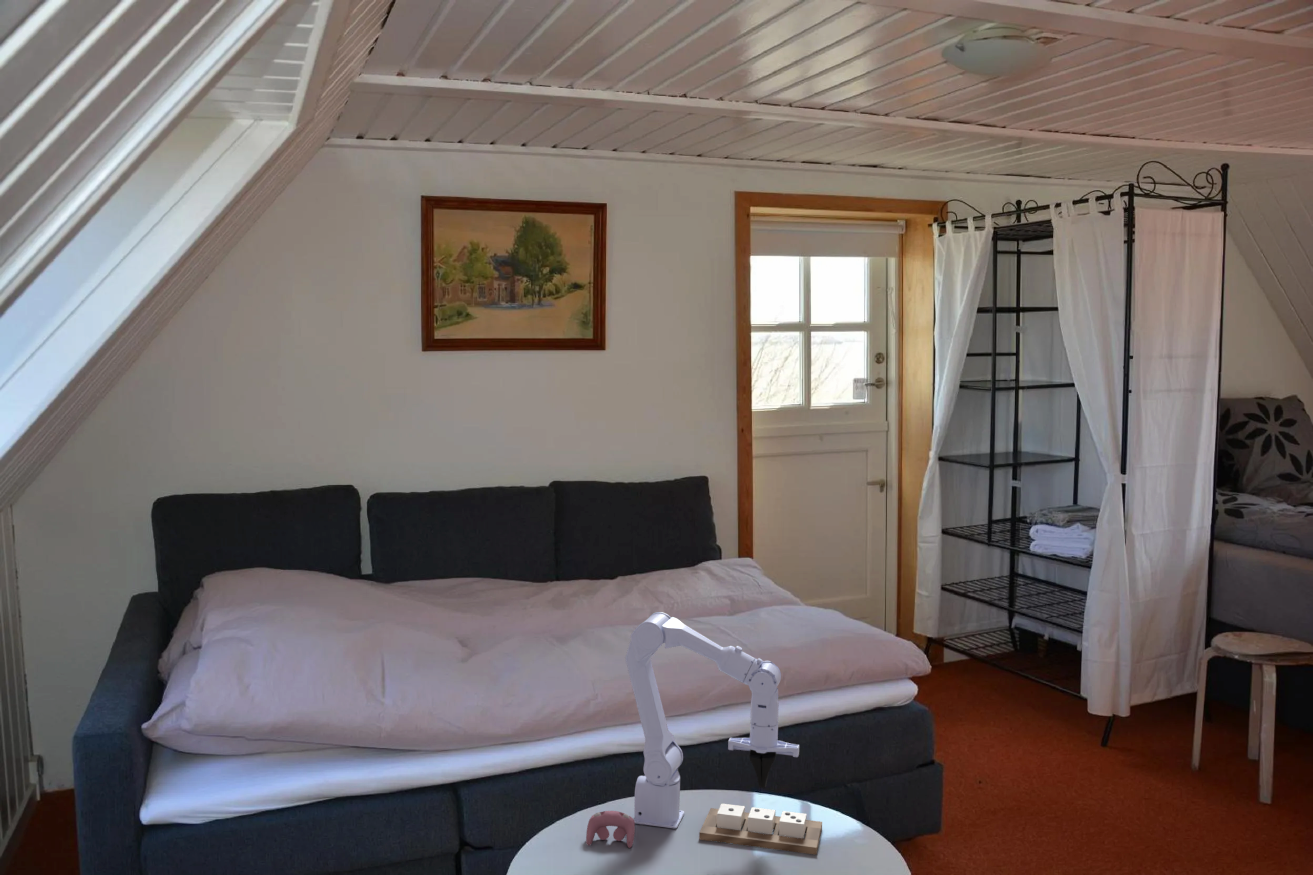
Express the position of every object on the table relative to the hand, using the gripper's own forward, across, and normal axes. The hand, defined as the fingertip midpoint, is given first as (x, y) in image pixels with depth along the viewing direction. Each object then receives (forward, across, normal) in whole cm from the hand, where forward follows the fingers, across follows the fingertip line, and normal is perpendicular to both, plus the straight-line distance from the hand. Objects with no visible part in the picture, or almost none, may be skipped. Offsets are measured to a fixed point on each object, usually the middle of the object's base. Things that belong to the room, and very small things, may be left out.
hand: (762, 785), depth 220 cm
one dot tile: (+9, -6, 0) cm, 11 cm away
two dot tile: (+9, 0, 0) cm, 9 cm away
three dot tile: (+9, +7, 0) cm, 11 cm away
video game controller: (+11, -29, -12) cm, 33 cm away
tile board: (+10, 0, 0) cm, 10 cm away
